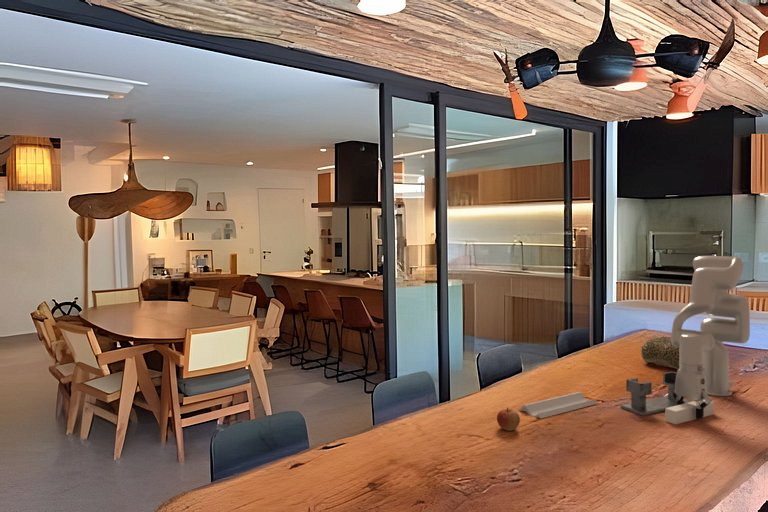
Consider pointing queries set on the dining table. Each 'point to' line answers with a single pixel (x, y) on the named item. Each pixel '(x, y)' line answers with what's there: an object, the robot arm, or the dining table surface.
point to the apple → (508, 419)
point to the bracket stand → (643, 389)
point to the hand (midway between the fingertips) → (689, 414)
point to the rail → (686, 412)
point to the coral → (661, 352)
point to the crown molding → (557, 405)
